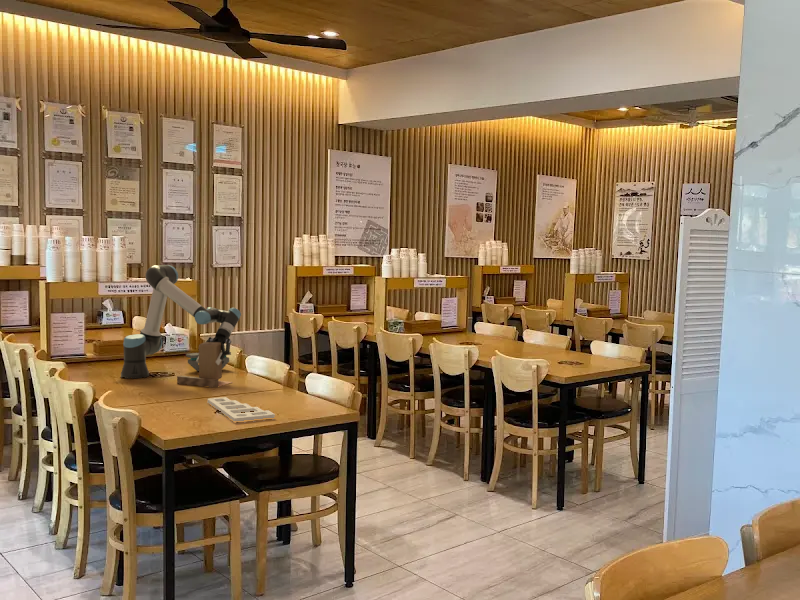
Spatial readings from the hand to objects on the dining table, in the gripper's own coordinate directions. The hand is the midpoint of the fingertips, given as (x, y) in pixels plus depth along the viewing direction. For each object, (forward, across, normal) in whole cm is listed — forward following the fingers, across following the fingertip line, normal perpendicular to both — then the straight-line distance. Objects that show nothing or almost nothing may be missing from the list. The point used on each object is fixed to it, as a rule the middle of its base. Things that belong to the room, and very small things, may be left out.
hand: (207, 362), depth 399 cm
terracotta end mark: (+6, -4, -10) cm, 12 cm away
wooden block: (+5, 0, -9) cm, 10 cm away
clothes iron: (-15, +25, -32) cm, 43 cm away
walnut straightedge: (+12, +2, -4) cm, 13 cm away
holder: (+41, -54, +24) cm, 72 cm away
